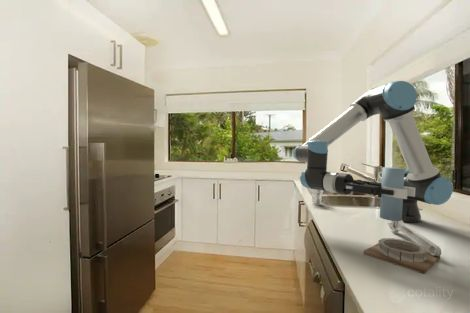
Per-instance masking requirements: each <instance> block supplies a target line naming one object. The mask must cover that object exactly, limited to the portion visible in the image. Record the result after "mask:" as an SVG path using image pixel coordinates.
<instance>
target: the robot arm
mask: <svg viewBox="0 0 470 313" xmlns="http://www.w3.org/2000/svg"><path fill="white" fill-rule="evenodd" d="M417 99H418V91H417V89H416V88H415V87H414V85H413V84H412V83H410V82H407V81H404V80H396V81H391V82H389V83H385V84H383V85H379V86H375V87H373V88H371V89H369V90H367V91H366V92H364V93H363V94H362V95H360V97H359V98H357V99H356V100H355V101H353V102H352V103H351V104H350V105H349V108H348V109H347V110H345V111H344V112H343V113H342V114H340V115H339V116H338V117H336V118H335V119H334V120H332V121H331V122H330V123H329V124H327V125H326V126H325V127H323V128H322V129H321V130H320V131H318V132H316V134H315V135H313V136H312V137H310V138H309V139H308V140H307V141H305V142H304V143H302V144H299V145H297V146H296V147H295V148H294V149H293V151H292V152H293V154H292V155H293V158H294V159H295V160H297V162H299V163H300V162H301V163H306V164H307V165H306V166H307V167H306V169H304V170H302V172H301V175H300V177H299V180H300V184H301V186H303V187H304V188H307V189H310V190H311V189H316V190H322V191H323V192H329V193H330V195H331V194H335V193H336V194H340V195H346V196H348V195H350V194H352V192H353V193H354V192H355V193H360V194H365V195H371V196H377V198H380V199H381V197H382V194H383V196H389V197H395V198H402V199H403V206H402V221H403V222H404V223H420V222H422V215H421V212H420V209H419V205H418V201H419V202H421V203H425V204H429V205H433V206H434V205H435V206H439V205H444V204H445V203H447V202H448V201H449V200H450V198H451V196H452V194H453V192H454V185H453V182H452V180H450V179H449V178H447V177H444V176H442V174H441V172H440V169H439V168H438V167H435V166H434V165H433V163H432V160H431V159H430V156H429V152H428V151H427V148H426V145H425V143H424V141H423V138H422V134H421V133H420V131H419V128H418V125H417V123H416V119H415V118H414V115H413V113H414V112H415V110H416V107H415V105H416V103H417ZM379 114H380V115H381V118H382V120H383V121H384V122H387V123H388V124H389V126H390V128H391V131H392V133H393V136H394V138H395V141H396V143H397V145H398V147H399V150H400V153H401V156H402V158H403V161H404V164H405V165H406V167H407V169H405V172H404V189H398V188H390V187H383V189H382V187H381V185H382V182H377V181H369V180H362V179H354V177H353V175H352V174H350V173H342V172H335V171H334V172H333V171H327V170H328V154H329V150H328V148H329V146H330V145H331V144H333V143H334V142H335V141H337V140H338V139H339V138H340V137H342V136H343V135H344V134H345V133H347V132H349V131H350V130H351V129H352V128H354V127H355V126H356V125H357V124H359V123H360V122H365V121H367V119H369V118H371V117H373V116H376V115H379Z"/></svg>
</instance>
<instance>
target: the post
mask: <svg viewBox="0 0 470 313" xmlns="http://www.w3.org/2000/svg"><path fill="white" fill-rule="evenodd" d="M381 170H382V171H381V183H382V185H381V187H382V189H383V187H390V188H398V189H404V172H405V170H406V168H404V167H390V166H389V167H386V166H383V167H382V169H381ZM379 204H380V205H379V206H380V207H379V218H381V219H383V220H387V221H391V222H392V221H401V220H402V206H403V199H402V198H395V197H389V196H383V194H382V197H381V198H380V203H379Z"/></svg>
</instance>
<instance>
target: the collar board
mask: <svg viewBox="0 0 470 313" xmlns="http://www.w3.org/2000/svg"><path fill="white" fill-rule="evenodd" d="M363 254H364V255H367V256H370V257H373V258H376V259H379V260H382V261H385V262H388V263H391V264H394V265H398V266H401V267H403V268H406V269H409V270H412V271H415V272H418V273H421V274H426V273H427V272H428V271H429V270H431V268H432V267H433V266H434V265H435V264H436V263H437V262H438V261H439V260H440V259H441V255H440V256H433V255H431V254H430V253H429V252H427V250H426V248H425V247H423V246H421V245H419V244H417V243H416V242H414V241H411V240H406V239H401V238H396V237H395V238H394V237H385V238H380V239H379V240H378V243H376V244H374V245H372V246H370V247H368V248H365V249H364V250H363Z"/></svg>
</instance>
